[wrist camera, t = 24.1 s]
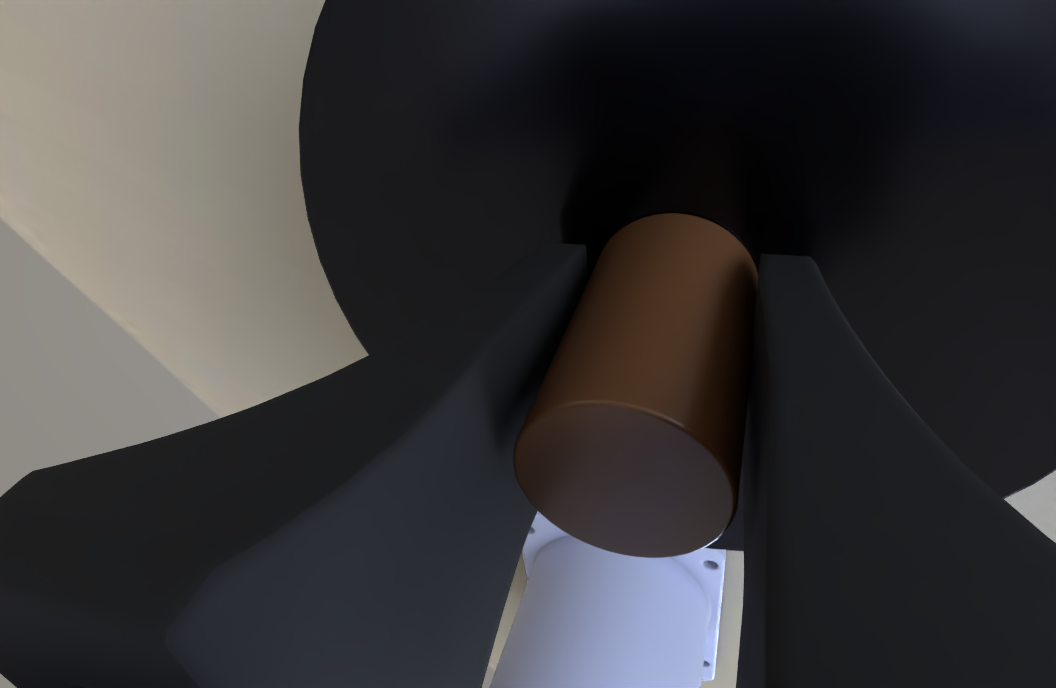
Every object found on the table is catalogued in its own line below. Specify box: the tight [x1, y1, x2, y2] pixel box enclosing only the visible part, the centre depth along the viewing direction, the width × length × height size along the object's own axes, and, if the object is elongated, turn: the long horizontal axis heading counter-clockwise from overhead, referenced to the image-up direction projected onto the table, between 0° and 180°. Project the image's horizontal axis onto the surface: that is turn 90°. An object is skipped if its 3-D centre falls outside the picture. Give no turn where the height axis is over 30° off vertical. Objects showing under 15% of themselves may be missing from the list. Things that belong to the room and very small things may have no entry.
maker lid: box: [299, 0, 1056, 558], centre depth 9 cm, size 13×13×5 cm
